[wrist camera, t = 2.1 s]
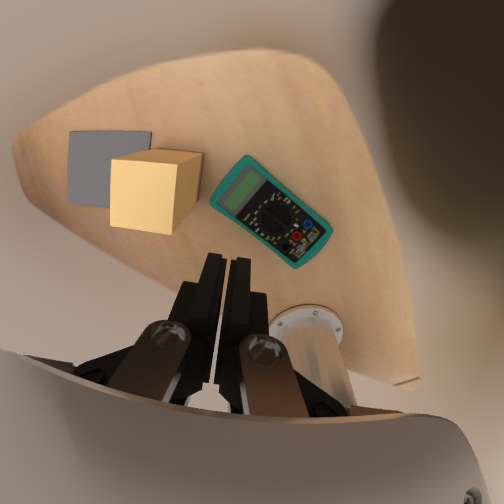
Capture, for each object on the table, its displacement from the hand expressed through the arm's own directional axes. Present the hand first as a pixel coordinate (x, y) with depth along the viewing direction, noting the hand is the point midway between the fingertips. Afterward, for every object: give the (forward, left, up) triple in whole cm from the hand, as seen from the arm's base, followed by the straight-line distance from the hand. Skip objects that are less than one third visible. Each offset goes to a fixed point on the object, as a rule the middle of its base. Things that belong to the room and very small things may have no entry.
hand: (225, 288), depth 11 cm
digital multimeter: (-3, -4, -24) cm, 25 cm away
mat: (-1, +19, -24) cm, 30 cm away
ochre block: (0, +8, -24) cm, 25 cm away
